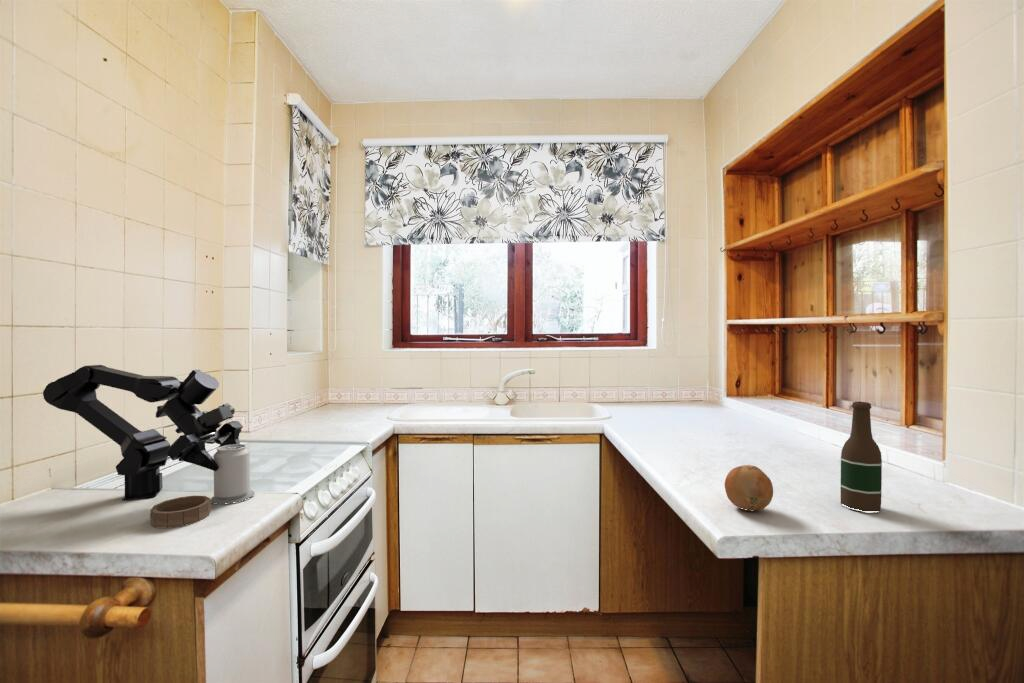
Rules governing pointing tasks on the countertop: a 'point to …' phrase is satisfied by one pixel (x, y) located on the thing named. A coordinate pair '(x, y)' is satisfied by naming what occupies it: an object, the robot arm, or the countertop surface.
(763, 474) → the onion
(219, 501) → the mat
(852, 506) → the beer bottle
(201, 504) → the collar
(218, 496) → the can
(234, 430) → the robot arm
